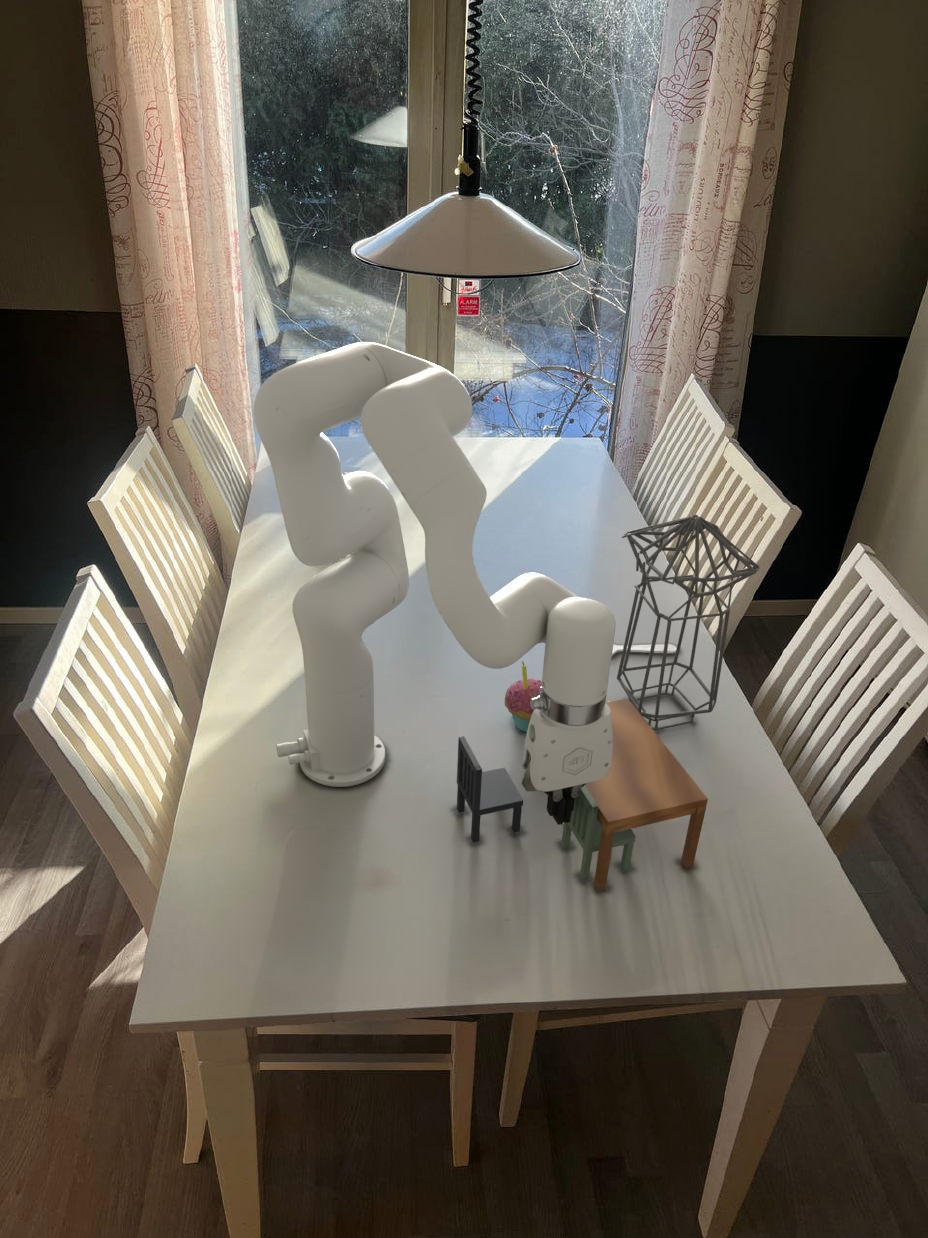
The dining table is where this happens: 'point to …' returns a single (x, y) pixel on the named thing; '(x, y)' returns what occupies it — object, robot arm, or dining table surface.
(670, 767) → the oak table
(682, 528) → the geometric lantern
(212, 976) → the dining table surface
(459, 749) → the charcoal chair
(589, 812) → the sage chair
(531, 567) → the dining table surface
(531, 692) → the cupcake
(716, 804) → the dining table surface
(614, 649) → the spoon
